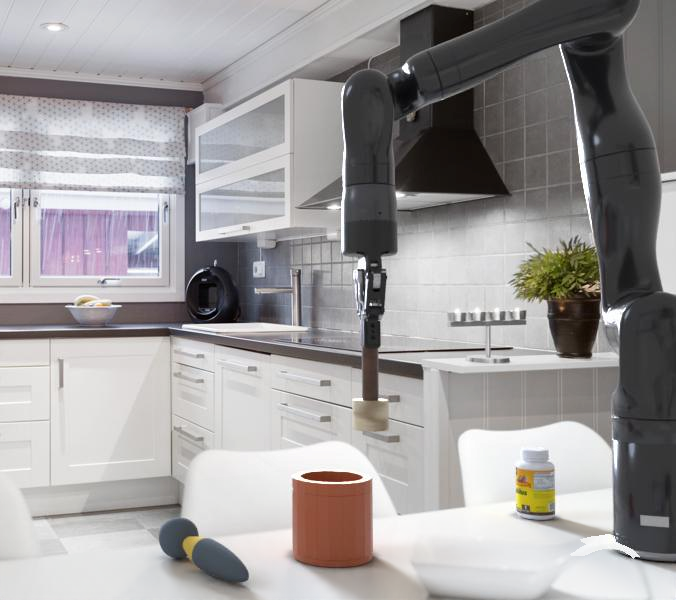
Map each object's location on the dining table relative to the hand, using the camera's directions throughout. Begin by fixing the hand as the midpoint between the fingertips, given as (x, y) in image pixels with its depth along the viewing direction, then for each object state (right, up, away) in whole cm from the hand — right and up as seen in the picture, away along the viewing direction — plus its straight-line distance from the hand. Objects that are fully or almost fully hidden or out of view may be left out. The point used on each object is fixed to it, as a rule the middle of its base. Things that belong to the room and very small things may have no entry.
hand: (370, 347), depth 112 cm
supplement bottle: (+27, -27, +13) cm, 41 cm away
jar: (-6, -26, -8) cm, 28 cm away
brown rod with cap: (0, -11, 0) cm, 11 cm away
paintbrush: (-22, -26, -12) cm, 36 cm away
